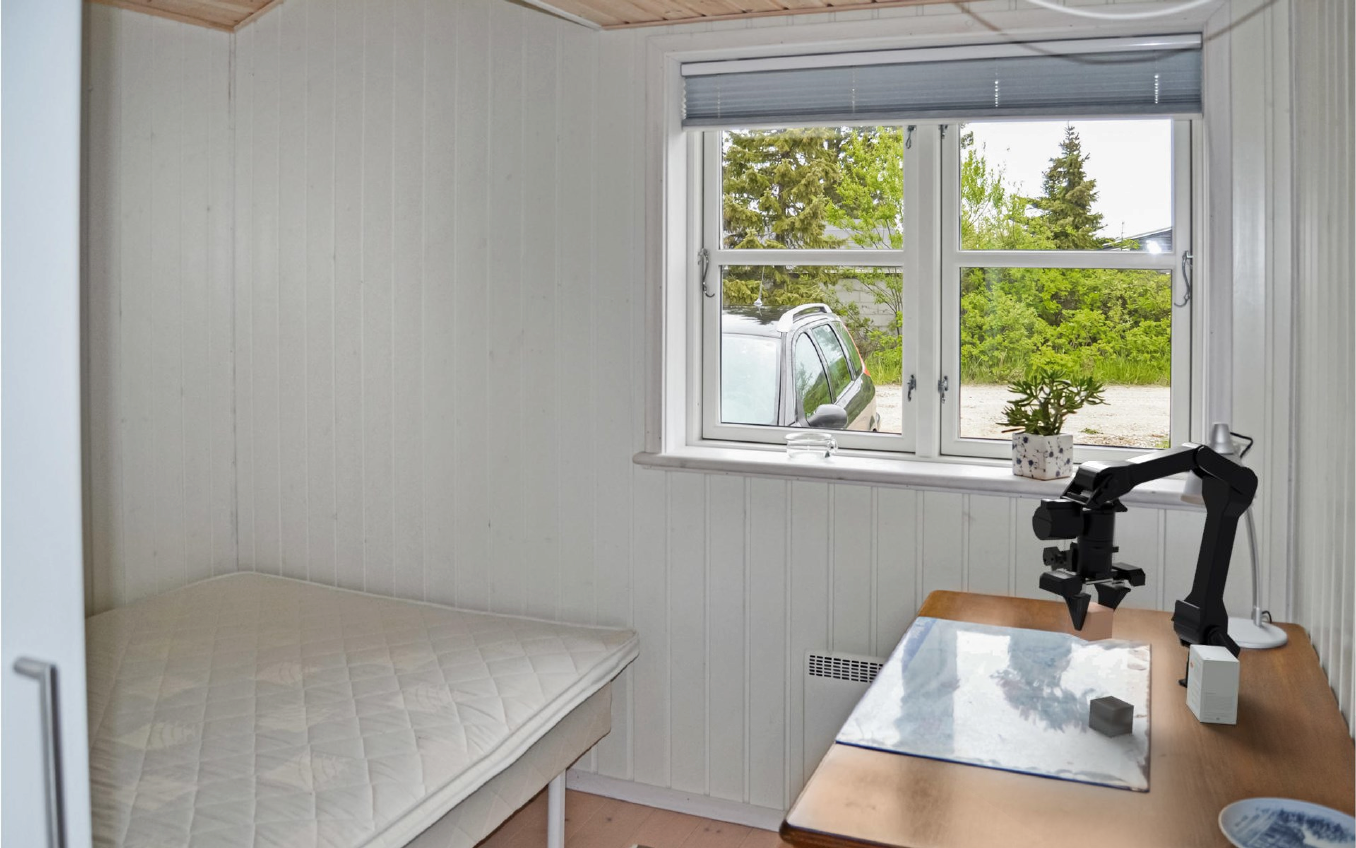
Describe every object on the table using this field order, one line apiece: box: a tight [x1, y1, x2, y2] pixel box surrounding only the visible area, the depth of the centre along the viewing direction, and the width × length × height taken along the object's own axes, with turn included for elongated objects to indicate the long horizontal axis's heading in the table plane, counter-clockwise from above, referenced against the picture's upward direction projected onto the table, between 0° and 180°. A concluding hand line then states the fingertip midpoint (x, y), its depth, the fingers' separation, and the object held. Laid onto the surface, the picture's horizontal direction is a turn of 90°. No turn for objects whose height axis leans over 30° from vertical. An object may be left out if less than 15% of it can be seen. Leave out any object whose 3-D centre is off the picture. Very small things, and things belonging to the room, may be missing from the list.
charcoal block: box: [1088, 695, 1135, 738], centre depth 167 cm, size 4×4×4 cm
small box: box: [1186, 645, 1241, 725], centre depth 173 cm, size 8×6×10 cm
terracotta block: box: [1066, 600, 1115, 643], centre depth 180 cm, size 5×5×5 cm
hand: (1089, 628), depth 180 cm, fingers closed on terracotta block, 5 cm apart
